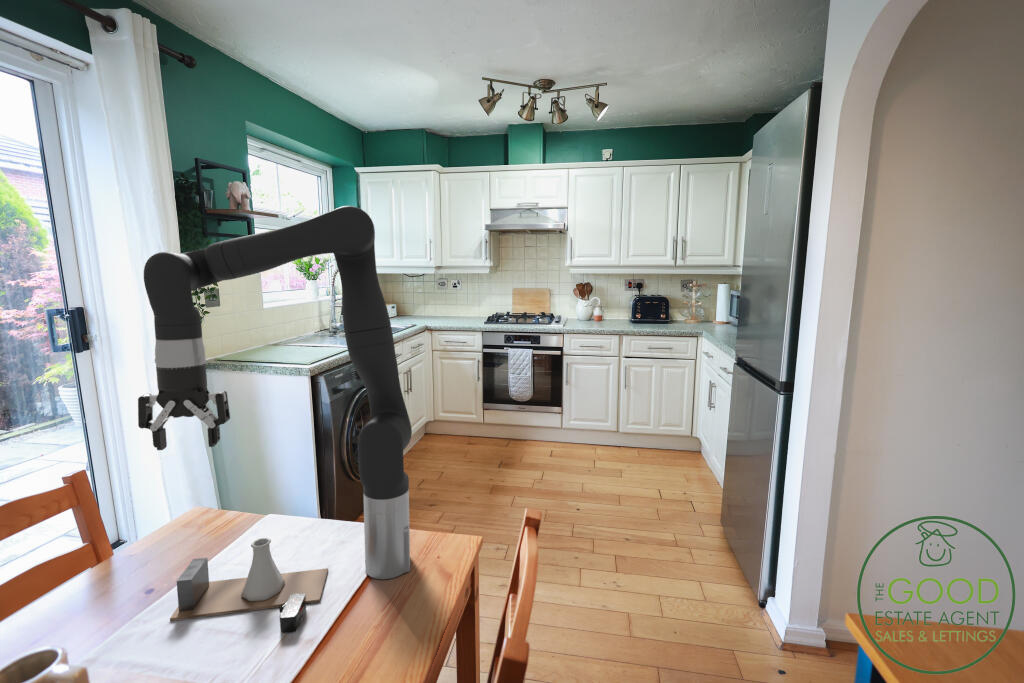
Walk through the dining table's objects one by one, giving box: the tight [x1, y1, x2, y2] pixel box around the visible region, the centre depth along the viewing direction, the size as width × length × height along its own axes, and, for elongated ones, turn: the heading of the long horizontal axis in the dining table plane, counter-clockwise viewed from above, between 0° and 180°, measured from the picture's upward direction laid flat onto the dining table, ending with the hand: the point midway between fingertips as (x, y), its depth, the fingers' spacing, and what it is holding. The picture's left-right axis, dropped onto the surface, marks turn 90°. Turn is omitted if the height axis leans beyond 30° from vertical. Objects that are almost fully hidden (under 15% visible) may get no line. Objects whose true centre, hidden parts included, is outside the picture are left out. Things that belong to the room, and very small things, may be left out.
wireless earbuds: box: [279, 593, 307, 634], centre depth 84 cm, size 5×7×3 cm, turn 8°
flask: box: [241, 537, 285, 601], centre depth 91 cm, size 7×7×10 cm
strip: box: [169, 557, 329, 622], centre depth 90 cm, size 25×10×6 cm, turn 103°
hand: (187, 447), depth 88 cm, fingers open, 8 cm apart
